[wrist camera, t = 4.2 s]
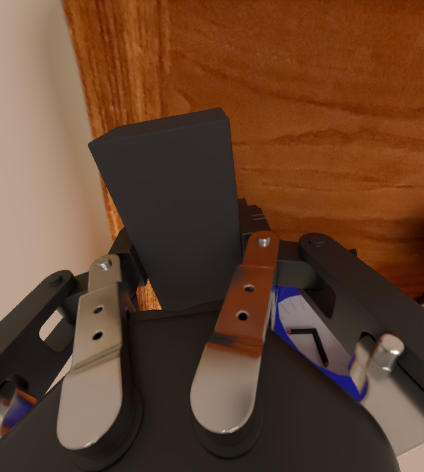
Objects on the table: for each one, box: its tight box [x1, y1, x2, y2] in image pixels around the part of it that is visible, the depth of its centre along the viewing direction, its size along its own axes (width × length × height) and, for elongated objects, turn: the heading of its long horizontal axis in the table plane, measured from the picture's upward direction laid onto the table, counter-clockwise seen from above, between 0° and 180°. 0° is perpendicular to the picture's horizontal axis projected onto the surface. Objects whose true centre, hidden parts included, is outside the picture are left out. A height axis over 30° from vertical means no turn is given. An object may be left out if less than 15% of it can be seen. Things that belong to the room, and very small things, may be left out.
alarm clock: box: [274, 249, 360, 402], centre depth 20 cm, size 12×12×15 cm
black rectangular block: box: [88, 108, 243, 311], centre depth 12 cm, size 11×5×4 cm, turn 9°
